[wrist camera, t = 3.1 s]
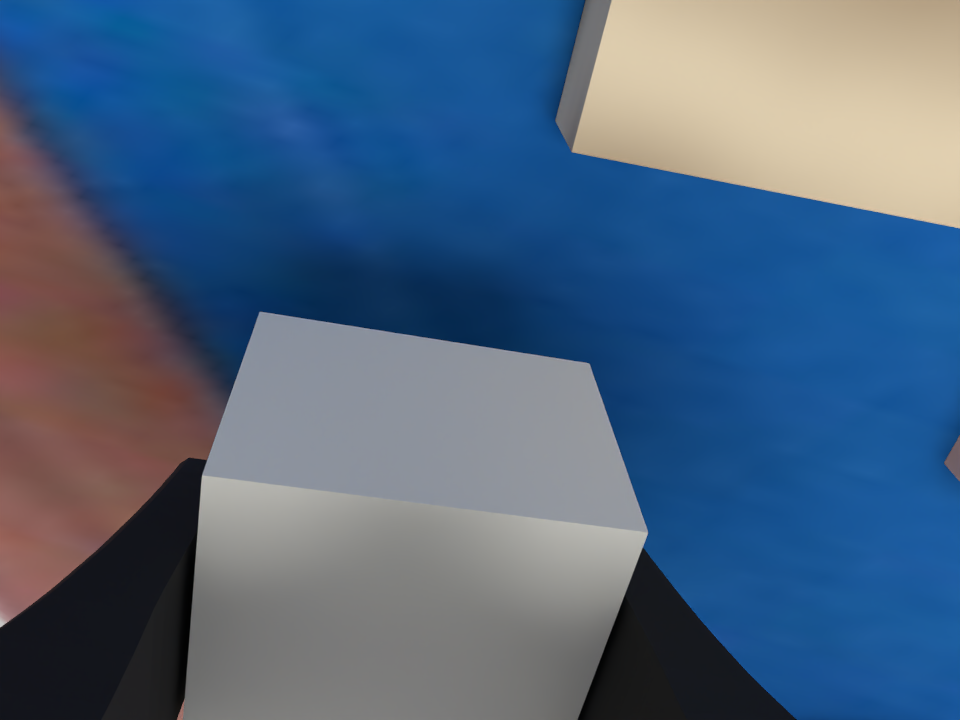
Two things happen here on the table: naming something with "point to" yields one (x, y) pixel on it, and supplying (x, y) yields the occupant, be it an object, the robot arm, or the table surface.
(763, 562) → the table surface
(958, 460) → the terracotta cube
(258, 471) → the cream cube
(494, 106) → the table surface
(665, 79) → the oak slab
